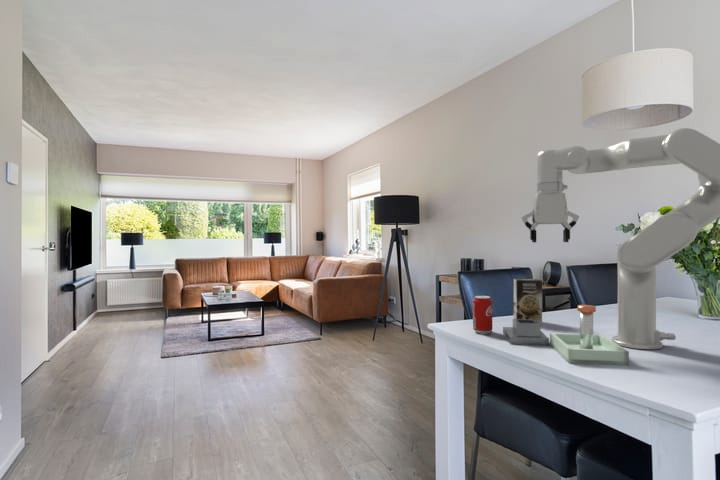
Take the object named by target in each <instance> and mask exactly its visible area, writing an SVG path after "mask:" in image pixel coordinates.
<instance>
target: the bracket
mask: <svg viewBox="0 0 720 480" xmlns="http://www.w3.org/2000/svg"><path fill="white" fill-rule="evenodd" d="M502 334H503V335H504V337H505V339H507V342H508V343H509V344H511V345H530V346H531V345H535V346H550V337H548V336H547V335H546V334H545V333H544V332H543V331H542V330H541V324H540V323H539V322H538V321H536V320H535V319H513V318H512V326H503V327H502Z"/></svg>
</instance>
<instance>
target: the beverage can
mask: <svg viewBox="0 0 720 480" xmlns="http://www.w3.org/2000/svg"><path fill="white" fill-rule="evenodd" d="M472 330H474V332H475V333H477V334H483V335H484V334H486V335H487V334H490V333H491V332H492V331H493V300H492V299H491V296H489V295H475V296H474V298H473V300H472Z"/></svg>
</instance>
